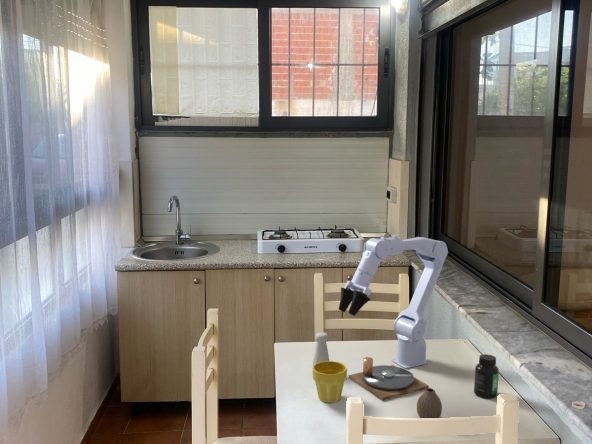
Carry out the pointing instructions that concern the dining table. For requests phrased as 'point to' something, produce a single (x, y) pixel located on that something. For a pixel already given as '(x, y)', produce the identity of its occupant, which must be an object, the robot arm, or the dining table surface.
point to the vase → (429, 404)
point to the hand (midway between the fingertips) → (346, 312)
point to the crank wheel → (386, 376)
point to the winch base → (388, 394)
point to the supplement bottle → (486, 377)
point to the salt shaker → (321, 348)
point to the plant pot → (329, 380)
